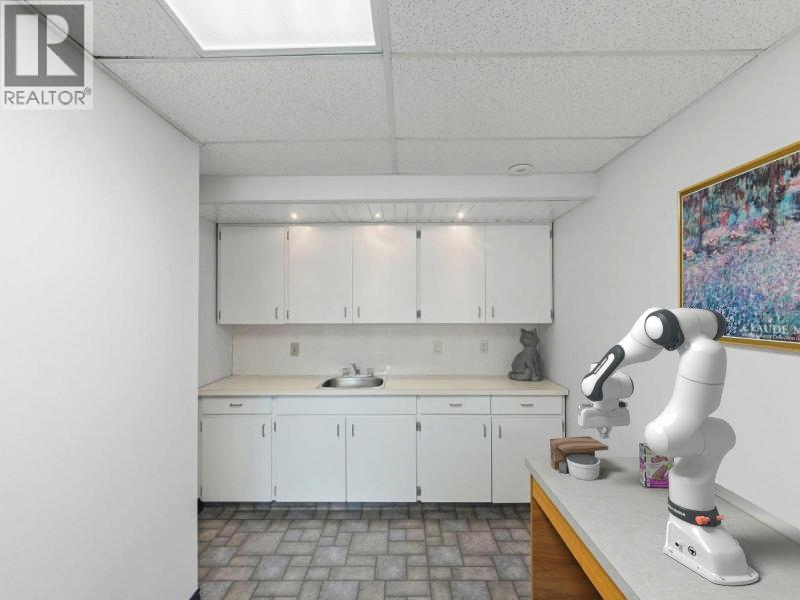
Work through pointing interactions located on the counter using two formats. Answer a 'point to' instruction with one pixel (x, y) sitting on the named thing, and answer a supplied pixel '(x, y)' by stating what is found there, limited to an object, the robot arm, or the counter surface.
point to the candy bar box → (654, 468)
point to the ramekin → (583, 466)
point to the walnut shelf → (572, 450)
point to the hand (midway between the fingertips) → (604, 438)
